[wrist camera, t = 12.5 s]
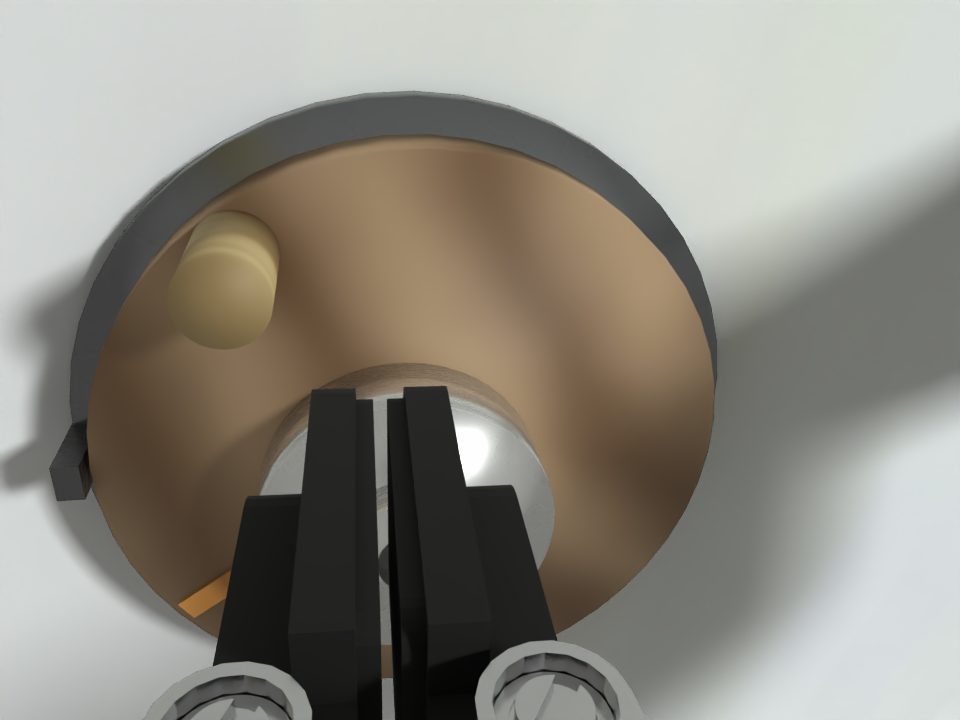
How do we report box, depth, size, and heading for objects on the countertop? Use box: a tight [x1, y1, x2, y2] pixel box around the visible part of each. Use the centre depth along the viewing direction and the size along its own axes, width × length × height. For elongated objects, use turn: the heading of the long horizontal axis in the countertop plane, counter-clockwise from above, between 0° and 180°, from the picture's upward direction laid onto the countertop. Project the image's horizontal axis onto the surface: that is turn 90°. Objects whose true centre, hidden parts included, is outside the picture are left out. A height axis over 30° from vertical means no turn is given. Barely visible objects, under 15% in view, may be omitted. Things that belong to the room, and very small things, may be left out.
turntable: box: [87, 134, 714, 678], centre depth 26 cm, size 20×20×5 cm
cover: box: [258, 363, 555, 645], centre depth 25 cm, size 9×9×4 cm
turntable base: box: [49, 91, 717, 503], centre depth 28 cm, size 22×22×3 cm
